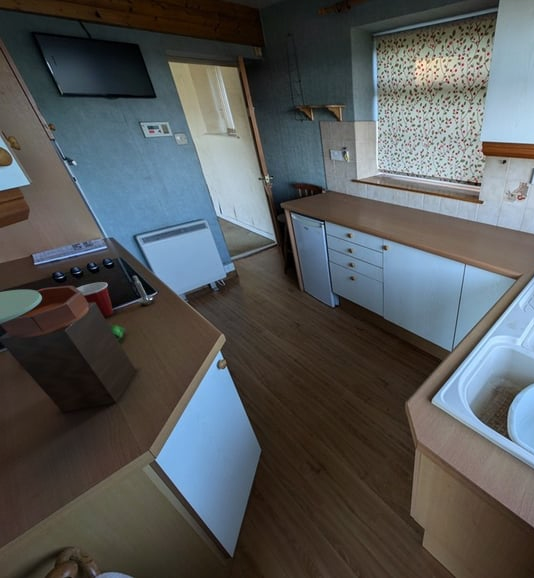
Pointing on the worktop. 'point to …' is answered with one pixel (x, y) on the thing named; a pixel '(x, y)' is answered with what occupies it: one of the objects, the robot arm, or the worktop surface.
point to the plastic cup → (98, 296)
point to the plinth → (69, 350)
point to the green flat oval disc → (17, 303)
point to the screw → (142, 292)
